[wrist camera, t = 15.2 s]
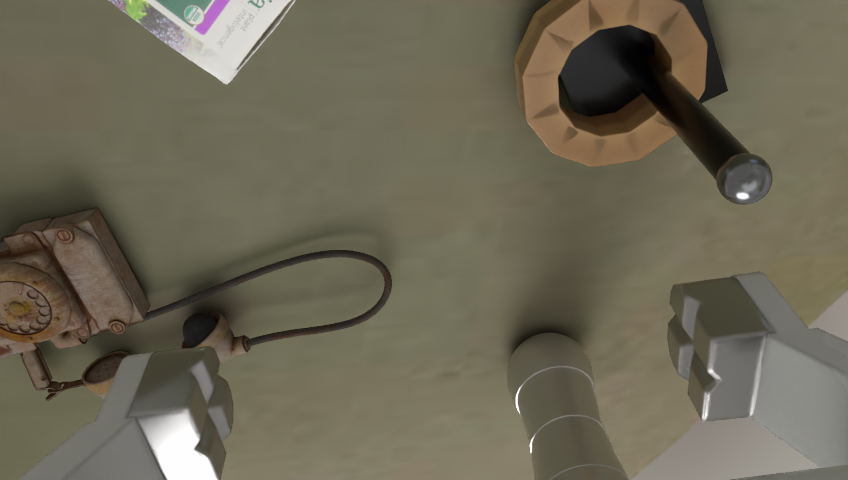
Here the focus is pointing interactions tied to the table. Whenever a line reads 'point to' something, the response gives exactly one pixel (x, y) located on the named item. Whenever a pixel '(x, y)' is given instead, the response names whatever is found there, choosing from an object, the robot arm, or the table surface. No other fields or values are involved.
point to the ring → (634, 123)
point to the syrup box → (210, 28)
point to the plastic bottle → (561, 410)
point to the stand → (664, 100)
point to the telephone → (108, 298)
